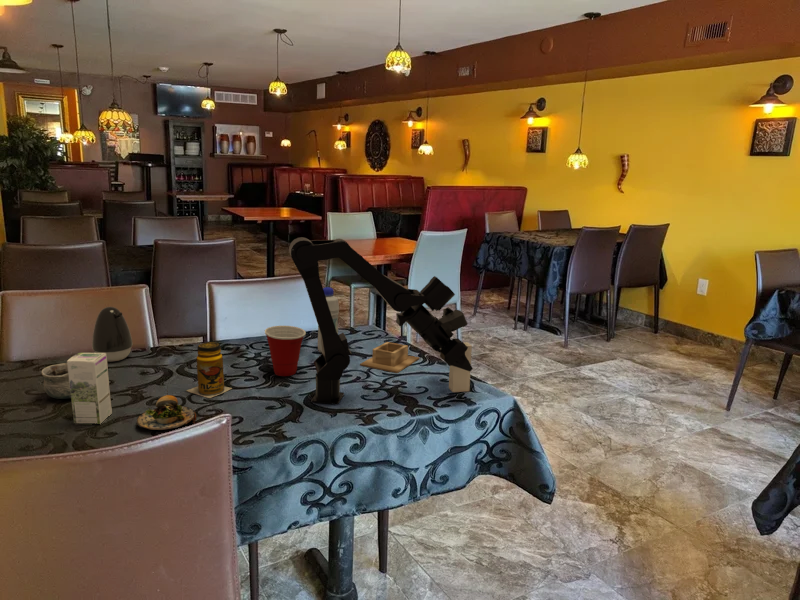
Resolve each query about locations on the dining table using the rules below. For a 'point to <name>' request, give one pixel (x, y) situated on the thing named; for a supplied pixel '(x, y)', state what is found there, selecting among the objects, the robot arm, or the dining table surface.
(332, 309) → the bottle
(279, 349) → the plastic cup
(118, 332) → the dark grey egg shape
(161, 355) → the dining table surface
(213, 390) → the condiment
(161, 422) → the burger
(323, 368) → the robot arm
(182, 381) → the dining table surface
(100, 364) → the syrup box
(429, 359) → the dining table surface
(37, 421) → the dining table surface
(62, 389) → the mug
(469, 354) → the tan rectangular block
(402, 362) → the wooden socket base
